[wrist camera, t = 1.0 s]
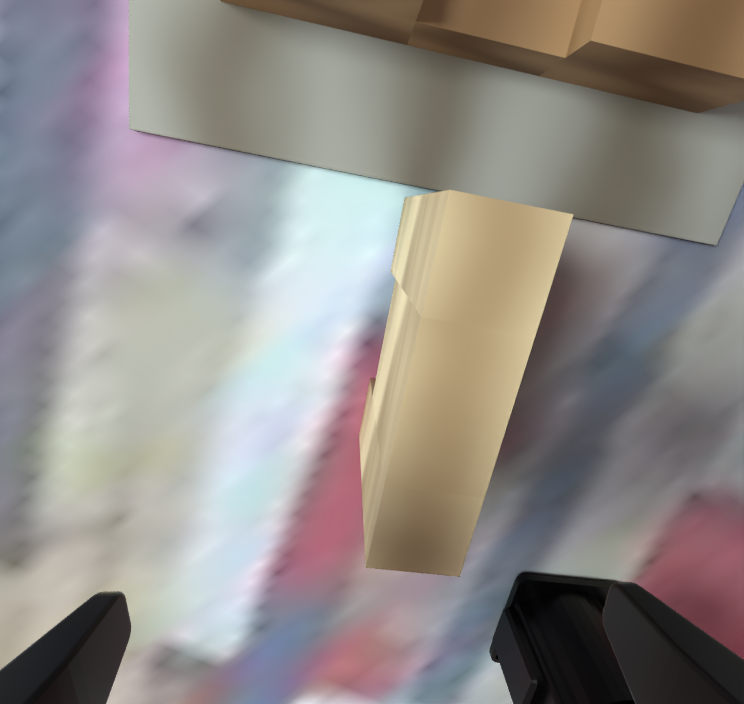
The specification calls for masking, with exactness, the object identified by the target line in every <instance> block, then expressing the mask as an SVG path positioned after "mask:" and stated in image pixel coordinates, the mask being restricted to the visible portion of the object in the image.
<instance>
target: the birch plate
mask: <svg viewBox="0 0 744 704" xmlns="http://www.w3.org/2000/svg"><path fill="white" fill-rule="evenodd" d="M573 215H574V214H569V213H564V212H559V211H554V210H549V209H544V208H539V207H534V206H529V205H524V204H519V203H514V202H509V201H504V200H499V199H494V198H489V197H484V196H479V195H474V194H469V193H464V192H459V191H454V190H445V191H440V192H434V193H429V194H423V195H417V196H412V197H406V198H405V199H404V204H403V210H402V215H401V220H400V225H399V231H398V236H397V241H396V246H395V251H394V257H393V262H392V267H391V273H392V274H393V276H394V277H395V279H396V280H395V285H394V290H393V295H392V300H391V305H390V310H389V315H388V320H387V325H386V330H385V335H384V341H383V346H382V351H381V356H380V361H379V366H378V371H377V376H376V379H372V378H370V382H369V387H368V392H367V397H366V402H365V408H364V413H363V418H362V423H361V429H360V434H359V438H360V459H361V479H362V500H363V521H364V541H365V562H366V568H375V569H386V570H396V571H406V572H417V573H427V574H437V575H447V576H458V577H460V574H461V571H462V568H463V565H464V561H465V558H466V555H467V552H468V549H469V546H470V542H471V539H472V536H473V533H474V530H475V526H476V523H477V520H478V517H479V514H480V511H481V507H482V504H483V501H484V498H485V495H486V491H487V488H488V485H489V482H490V479H491V476H492V472H493V469H494V466H495V463H496V460H497V456H498V453H499V450H500V447H501V444H502V441H503V437H504V434H505V431H506V428H507V425H508V422H509V418H510V415H511V412H512V409H513V406H514V402H515V399H516V396H517V393H518V390H519V387H520V383H521V380H522V377H523V374H524V371H525V367H526V364H527V361H528V358H529V355H530V352H531V348H532V345H533V342H534V339H535V336H536V333H537V329H538V326H539V323H540V320H541V317H542V313H543V310H544V307H545V304H546V301H547V298H548V294H549V291H550V288H551V285H552V282H553V278H554V275H555V272H556V269H557V266H558V263H559V259H560V256H561V253H562V250H563V247H564V243H565V240H566V237H567V234H568V231H569V228H570V224H571V221H572V218H573Z"/></svg>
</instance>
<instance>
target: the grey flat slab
mask: <svg viewBox="0 0 744 704" xmlns="http://www.w3.org/2000/svg"><path fill="white" fill-rule="evenodd" d="M129 129H131V130H134V131H139V132H144V133H149V134H154V135H159V136H164V137H169V138H174V139H179V140H185V141H190V142H195V143H200V144H205V145H210V146H215V147H220V148H225V149H230V150H235V151H240V152H245V153H250V154H255V155H260V156H265V157H270V158H275V159H280V160H285V161H290V162H295V163H300V164H306V165H311V166H316V167H321V168H326V169H331V170H336V171H341V172H346V173H351V174H356V175H361V176H366V177H371V178H376V179H381V180H386V181H391V182H396V183H401V184H406V185H411V186H416V187H421V188H427V189H432V190H437V191H445V190H454V191H459V192H464V193H469V194H474V195H479V196H484V197H489V198H494V199H499V200H504V201H509V202H514V203H519V204H524V205H529V206H534V207H539V208H544V209H549V210H554V211H559V212H564V213H569V214H574V215H573V218H578V219H583V220H588V221H593V222H598V223H603V224H608V225H613V226H618V227H623V228H628V229H633V230H638V231H643V232H648V233H653V234H658V235H663V236H668V237H674V238H679V239H684V240H689V241H694V242H699V243H704V244H709V245H717V243H718V241H719V239H720V236H721V234H722V232H723V229H724V227H725V225H726V222H727V220H728V218H729V215H730V213H731V211H732V208H733V206H734V203H735V201H736V199H737V196H738V194H739V192H740V189H741V187H742V185H743V182H744V0H129Z"/></svg>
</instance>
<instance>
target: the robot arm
mask: <svg viewBox="0 0 744 704" xmlns="http://www.w3.org/2000/svg"><path fill="white" fill-rule="evenodd" d="M130 633H131V622H130V617H129V612H128V607H127V602H126V598H125V595H124V594H123V593H122V592H119V591H118V592H99V593H97V594H95V595H94V596H92V597H91V598H90V599H89V600H87V601H86V602H85V603H84V604H82V605H81V606H80V607H79V608H77V609H76V610H75V611H74V612H72V613H71V614H70V615H69V616H67V617H66V618H65V619H64V620H62V621H61V622H60V623H58V624H57V625H56V626H55V627H53V628H52V629H51V630H50V631H48V632H47V633H46V634H45V635H43V636H42V637H41V638H40V639H38V640H37V641H36V642H35V643H33V644H32V645H31V646H30V647H28V648H27V649H26V650H25V651H23V652H22V653H21V654H20V655H18V656H17V657H16V658H15V659H13V660H12V661H11V662H10V663H8V664H7V665H6V666H5V667H3V668H2V669H1V670H0V704H106V702H107V700H108V697H109V694H110V691H111V689H112V686H113V683H114V680H115V677H116V675H117V672H118V669H119V666H120V663H121V661H122V658H123V655H124V652H125V649H126V647H127V644H128V641H129V638H130ZM489 652H490V655H491V658H492V660H493V661H494V662H497V663H500V665H501V668H502V671H503V674H504V677H505V680H506V683H507V686H508V689H509V692H510V695H511V698H512V701H513V704H744V660H743V659H742V658H740V657H739V656H738V655H736V654H735V653H733V652H732V651H731V650H729V649H728V648H726V647H725V646H724V645H722V644H721V643H719V642H718V641H717V640H715V639H714V638H712V637H711V636H710V635H708V634H707V633H705V632H704V631H702V630H701V629H700V628H698V627H697V626H695V625H694V624H693V623H691V622H690V621H688V620H687V619H686V618H684V617H683V616H681V615H680V614H679V613H677V612H676V611H674V610H673V609H672V608H670V607H669V606H667V605H666V604H665V603H663V602H662V601H660V600H659V599H658V598H656V597H655V596H653V595H652V594H650V593H649V592H648V591H646V590H645V589H643V588H642V587H641V586H639V585H637V584H635V583H632V582H618V583H613V582H603V581H593V580H583V579H573V578H563V577H553V576H543V575H533V574H522V575H519V576H518V577H517V578H516V580H515V582H514V585H513V587H512V590H511V593H510V596H509V598H508V601H507V604H506V606H505V609H504V610H503V612H502V615H501V617H500V620H499V623H498V626H497V628H496V631H495V634H494V636H493V642H492V644H491V647H490V651H489Z"/></svg>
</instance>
